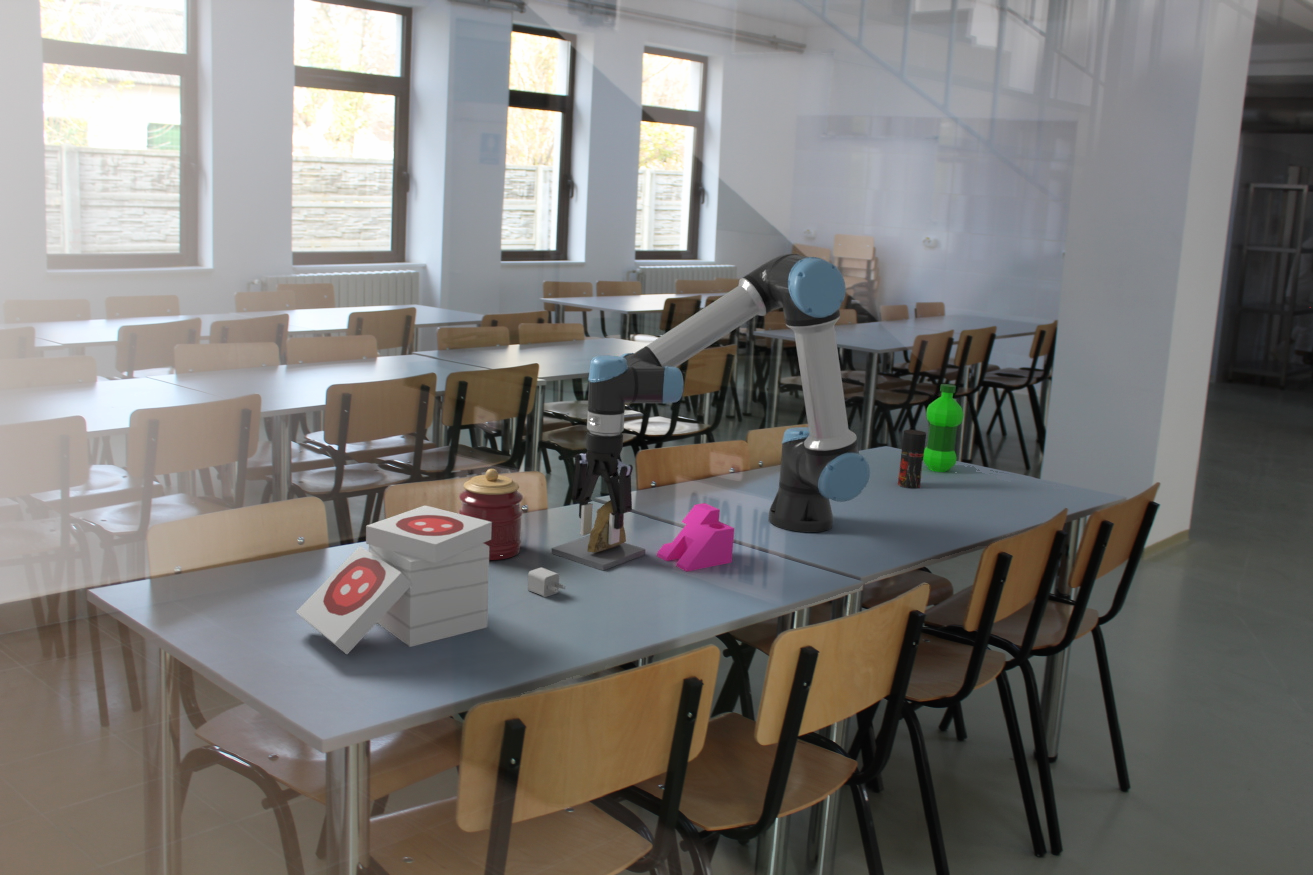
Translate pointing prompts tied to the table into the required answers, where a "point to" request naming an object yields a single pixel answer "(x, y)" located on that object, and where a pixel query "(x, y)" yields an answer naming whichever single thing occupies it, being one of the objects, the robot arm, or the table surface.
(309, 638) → the table surface
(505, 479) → the canister
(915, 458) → the deodorant
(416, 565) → the pizza boxes
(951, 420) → the plastic bottle
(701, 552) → the bracket
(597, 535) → the rock
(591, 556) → the slate board
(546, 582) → the usb wall charger
